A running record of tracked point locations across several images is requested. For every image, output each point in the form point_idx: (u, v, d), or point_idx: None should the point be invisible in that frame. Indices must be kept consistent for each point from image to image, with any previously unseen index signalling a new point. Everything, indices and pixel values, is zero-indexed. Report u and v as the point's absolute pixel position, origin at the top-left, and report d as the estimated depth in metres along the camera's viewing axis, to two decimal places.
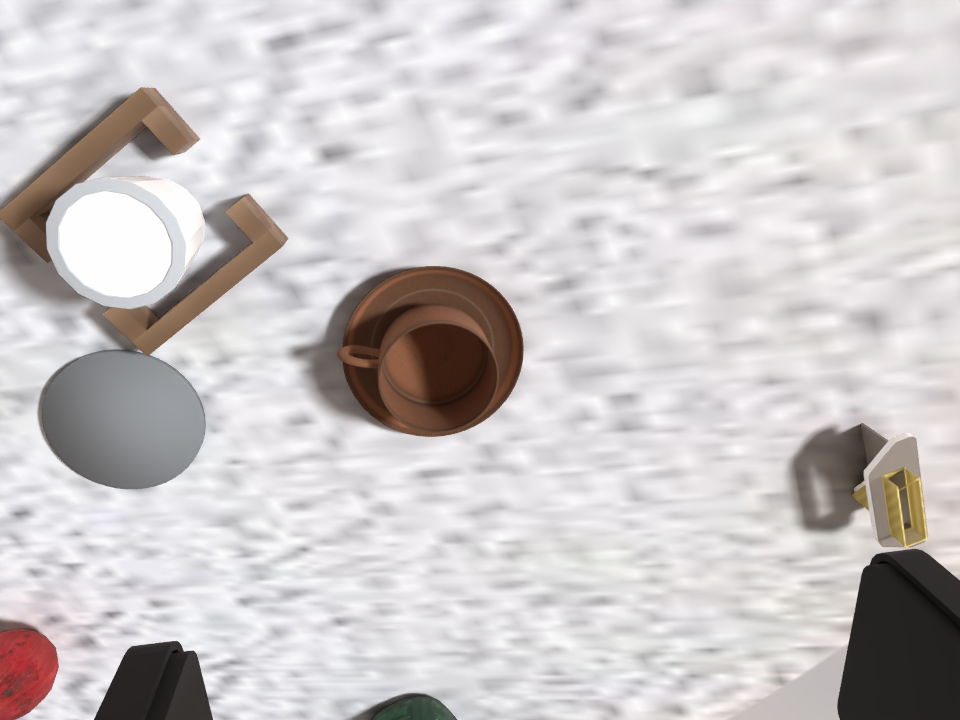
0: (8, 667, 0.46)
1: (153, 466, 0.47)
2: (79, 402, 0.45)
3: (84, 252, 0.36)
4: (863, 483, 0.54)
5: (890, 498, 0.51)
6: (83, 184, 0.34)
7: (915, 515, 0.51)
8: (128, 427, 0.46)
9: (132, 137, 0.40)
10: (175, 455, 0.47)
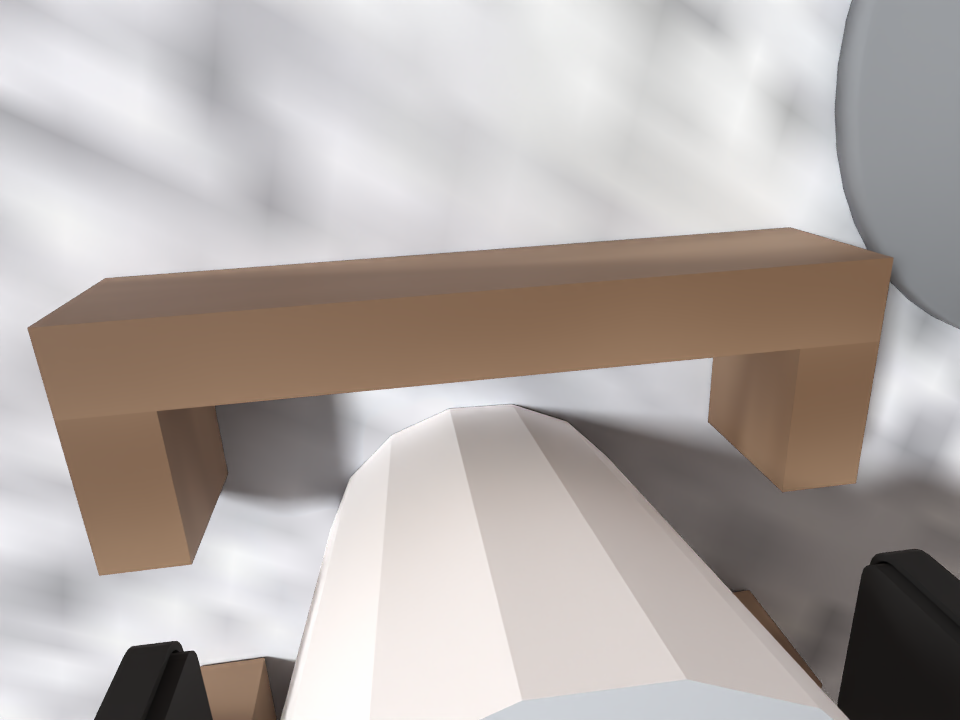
0: None
1: None
2: None
3: None
4: None
5: None
6: None
7: None
8: None
9: None
10: None
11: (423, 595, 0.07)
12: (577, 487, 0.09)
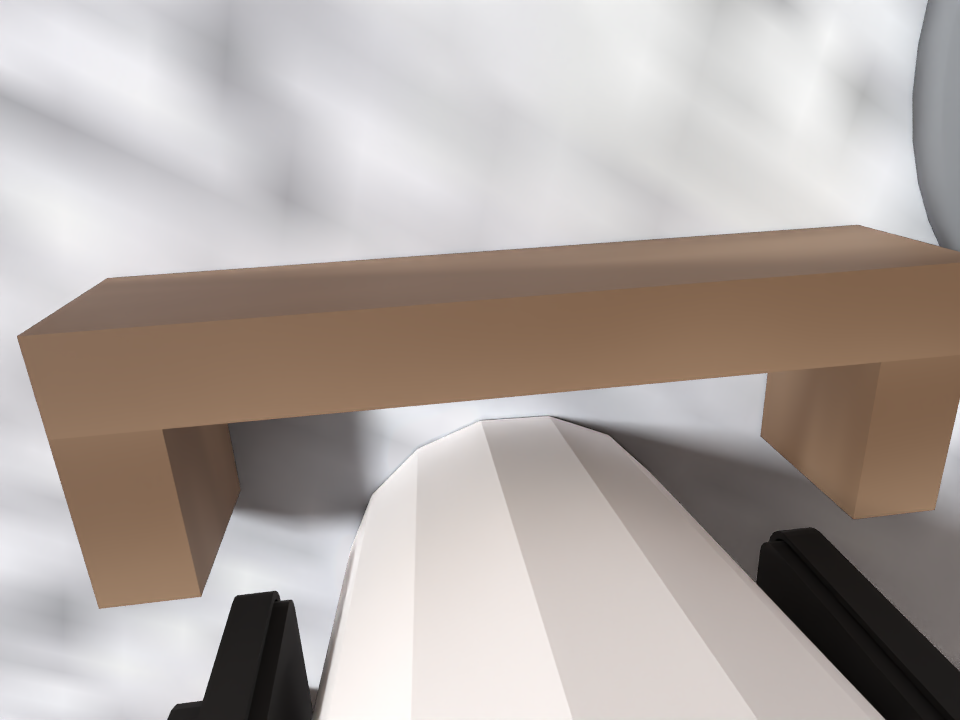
0: None
1: None
2: None
3: None
4: None
5: None
6: None
7: None
8: None
9: None
10: None
11: (465, 651, 0.06)
12: (632, 517, 0.08)
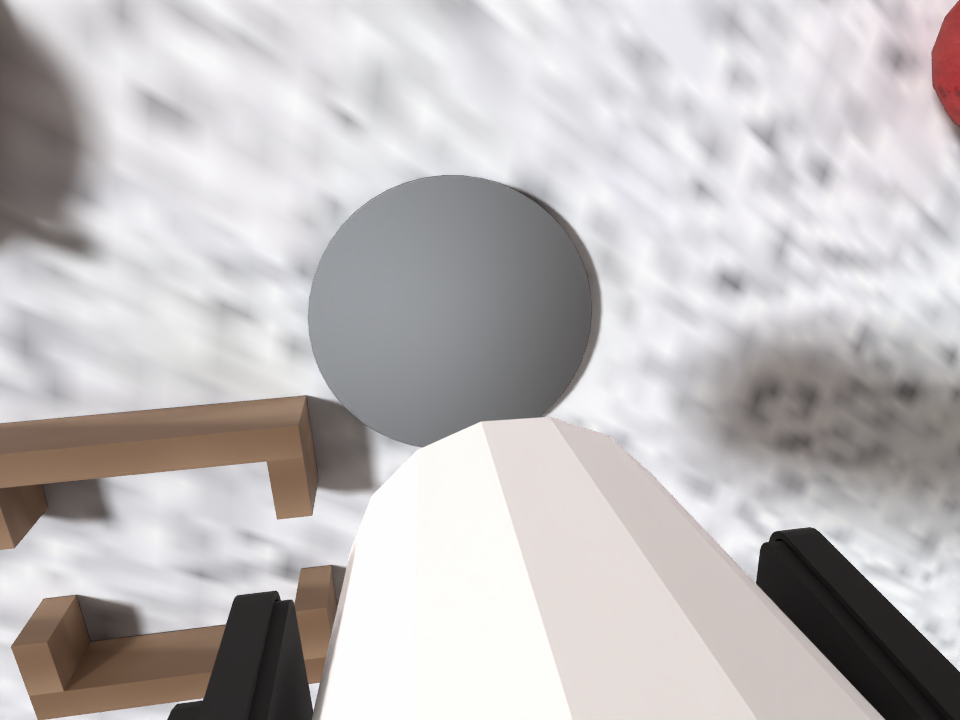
0: None
1: (476, 223, 0.23)
2: (484, 393, 0.25)
3: None
4: None
5: None
6: None
7: None
8: (453, 313, 0.24)
9: (129, 643, 0.27)
10: (423, 215, 0.23)
11: (465, 654, 0.06)
12: (633, 518, 0.08)
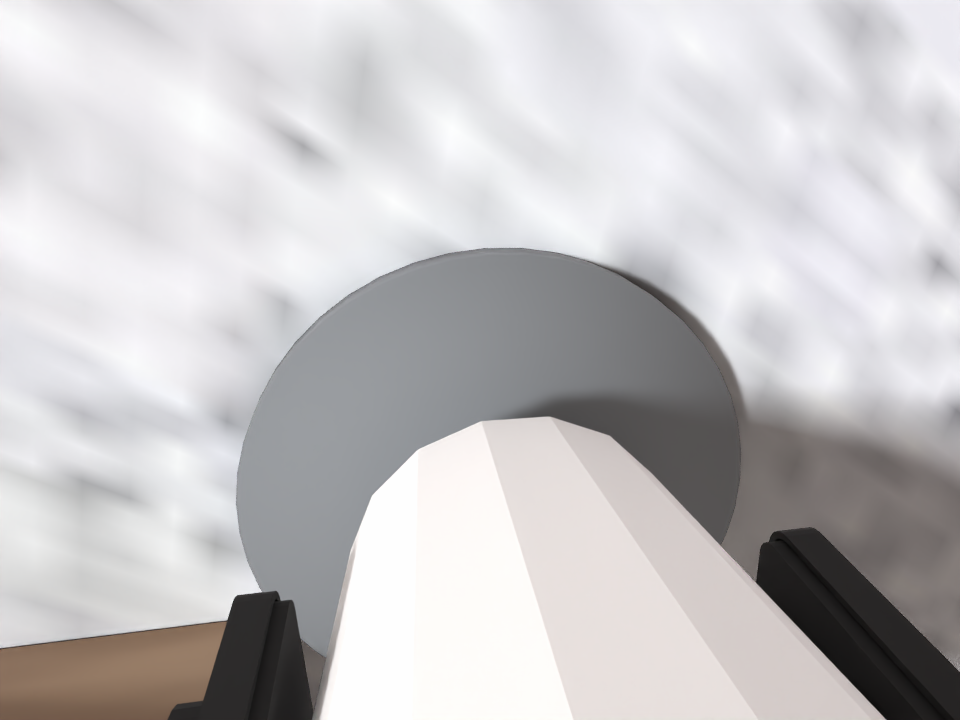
0: None
1: (546, 336, 0.12)
2: None
3: None
4: None
5: None
6: None
7: None
8: None
9: None
10: (449, 324, 0.12)
11: (466, 653, 0.06)
12: (633, 518, 0.08)
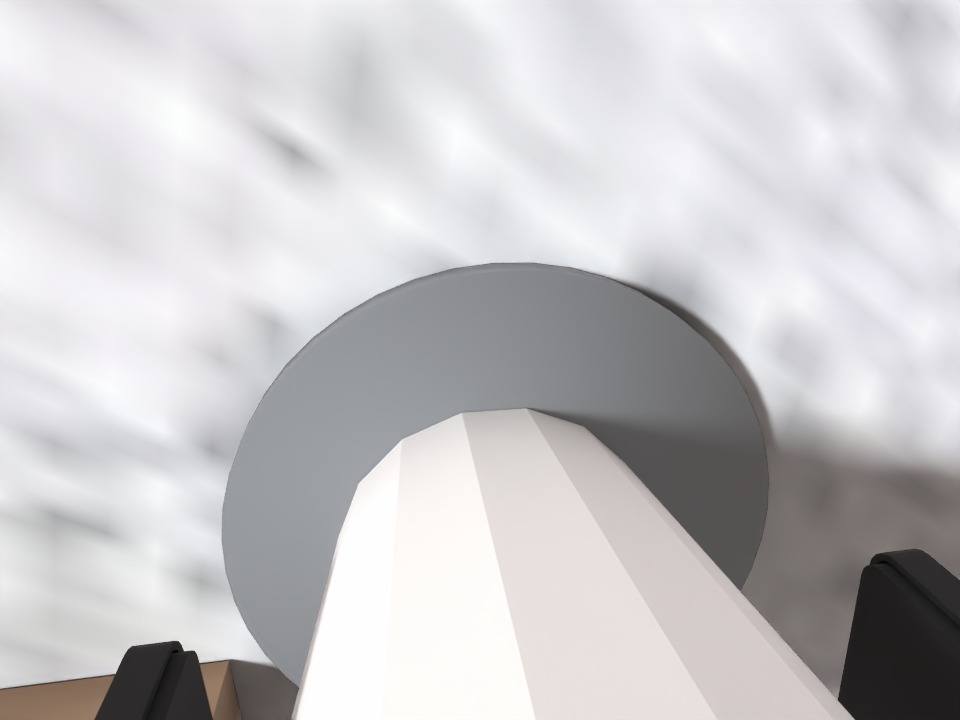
0: None
1: (559, 358, 0.11)
2: None
3: None
4: None
5: None
6: None
7: None
8: None
9: None
10: (454, 347, 0.11)
11: (435, 619, 0.07)
12: (596, 500, 0.09)
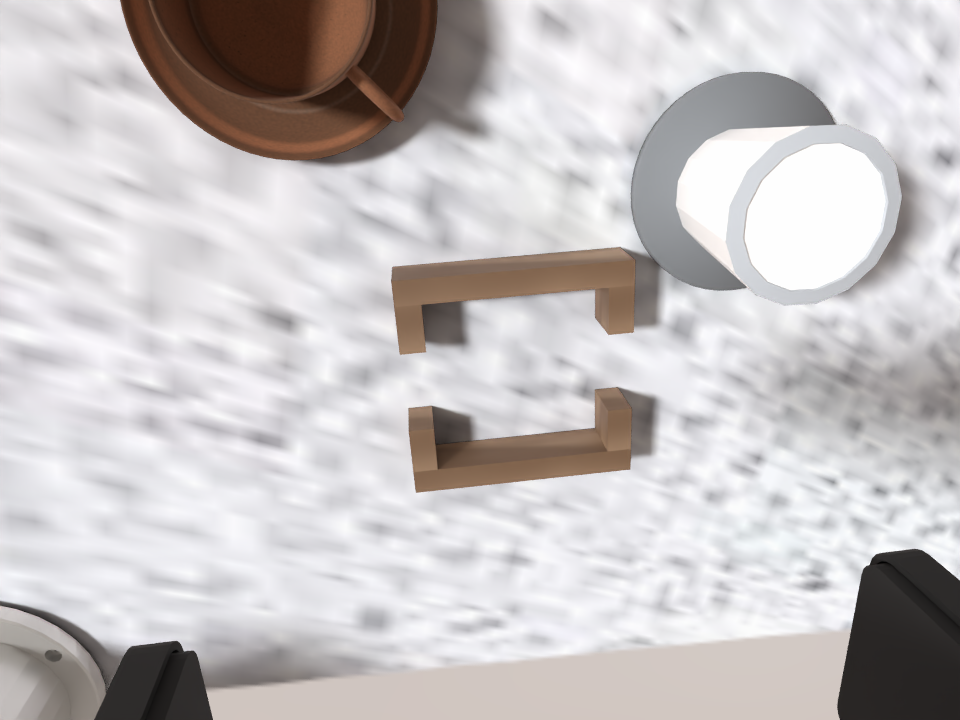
0: None
1: (766, 108, 0.31)
2: None
3: (849, 235, 0.26)
4: None
5: None
6: (778, 300, 0.27)
7: None
8: None
9: (467, 445, 0.36)
10: (729, 101, 0.31)
11: (765, 135, 0.26)
12: None
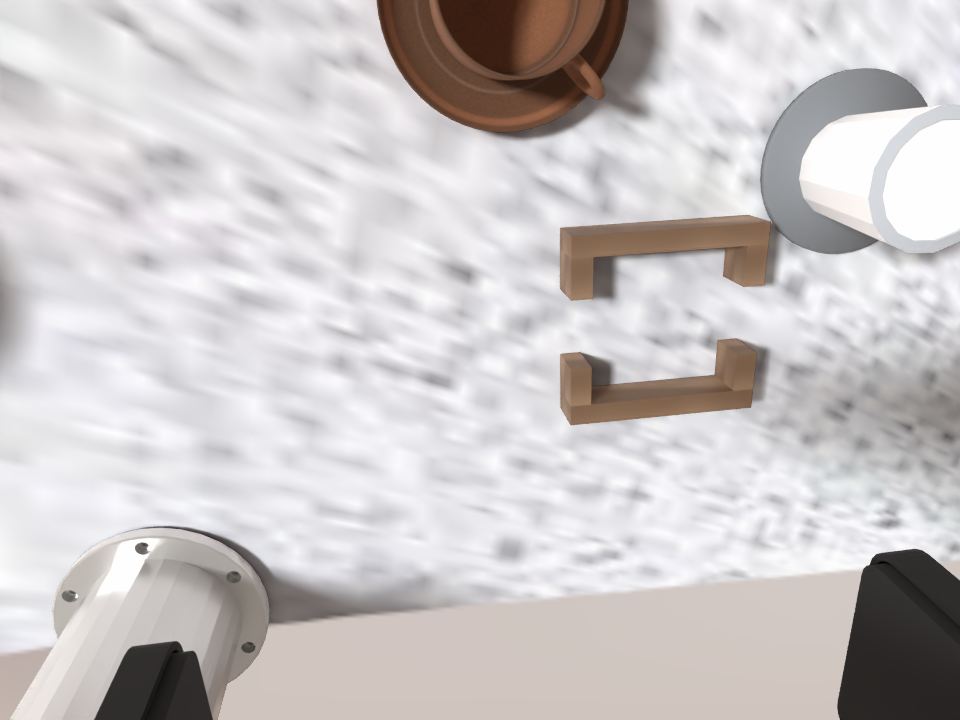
0: None
1: (877, 98, 0.37)
2: None
3: None
4: None
5: None
6: (905, 249, 0.33)
7: None
8: None
9: (607, 387, 0.42)
10: (848, 92, 0.37)
11: (896, 115, 0.33)
12: None
